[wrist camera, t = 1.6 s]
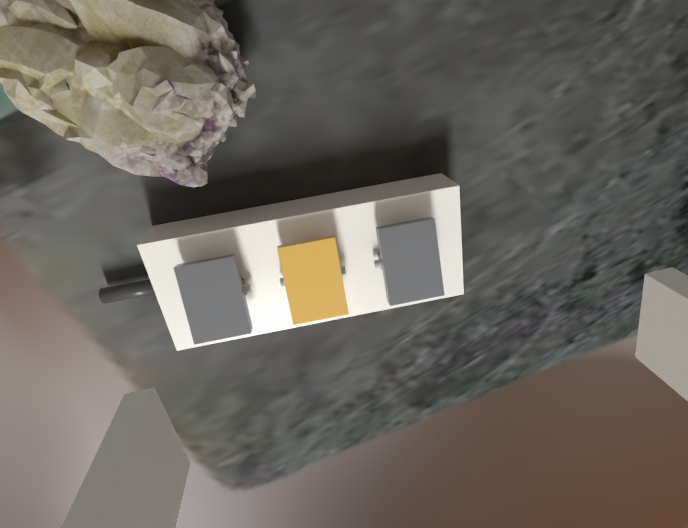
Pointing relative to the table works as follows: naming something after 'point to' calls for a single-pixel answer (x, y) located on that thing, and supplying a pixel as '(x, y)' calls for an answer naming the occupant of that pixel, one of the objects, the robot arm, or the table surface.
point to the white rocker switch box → (293, 226)
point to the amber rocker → (313, 279)
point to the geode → (128, 78)
